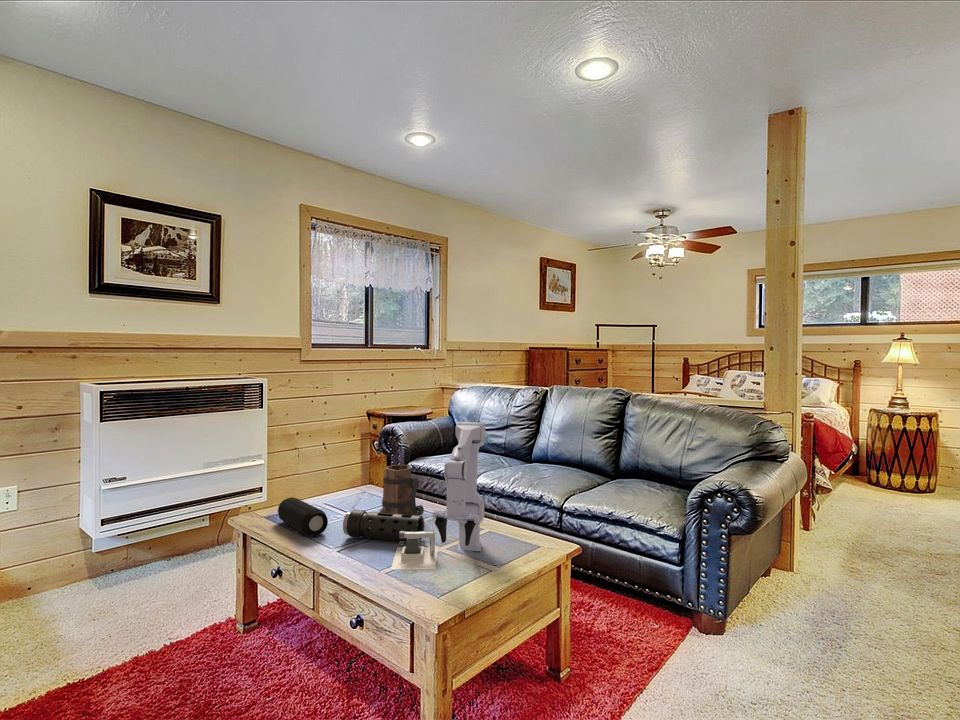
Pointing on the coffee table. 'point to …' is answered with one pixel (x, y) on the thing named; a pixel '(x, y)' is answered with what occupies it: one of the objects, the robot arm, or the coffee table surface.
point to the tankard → (400, 491)
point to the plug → (411, 545)
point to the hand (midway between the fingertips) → (455, 543)
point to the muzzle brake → (381, 525)
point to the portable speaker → (303, 516)
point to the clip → (420, 535)
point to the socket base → (414, 559)
